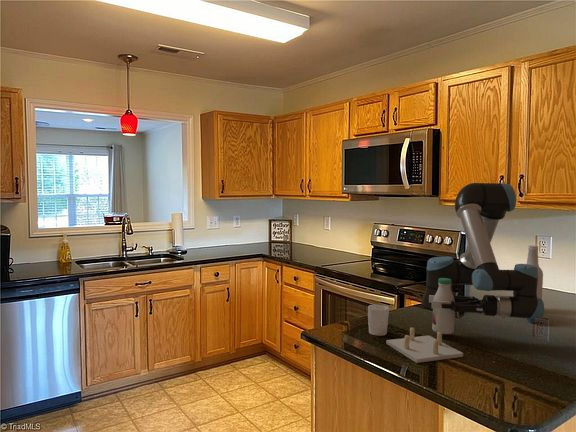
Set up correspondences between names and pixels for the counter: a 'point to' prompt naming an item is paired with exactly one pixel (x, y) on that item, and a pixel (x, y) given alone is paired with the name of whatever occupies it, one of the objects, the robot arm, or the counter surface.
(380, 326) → the white cup
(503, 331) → the counter surface
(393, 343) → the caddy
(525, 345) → the counter surface
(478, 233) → the robot arm
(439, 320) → the milk bottle
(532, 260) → the alcohol
